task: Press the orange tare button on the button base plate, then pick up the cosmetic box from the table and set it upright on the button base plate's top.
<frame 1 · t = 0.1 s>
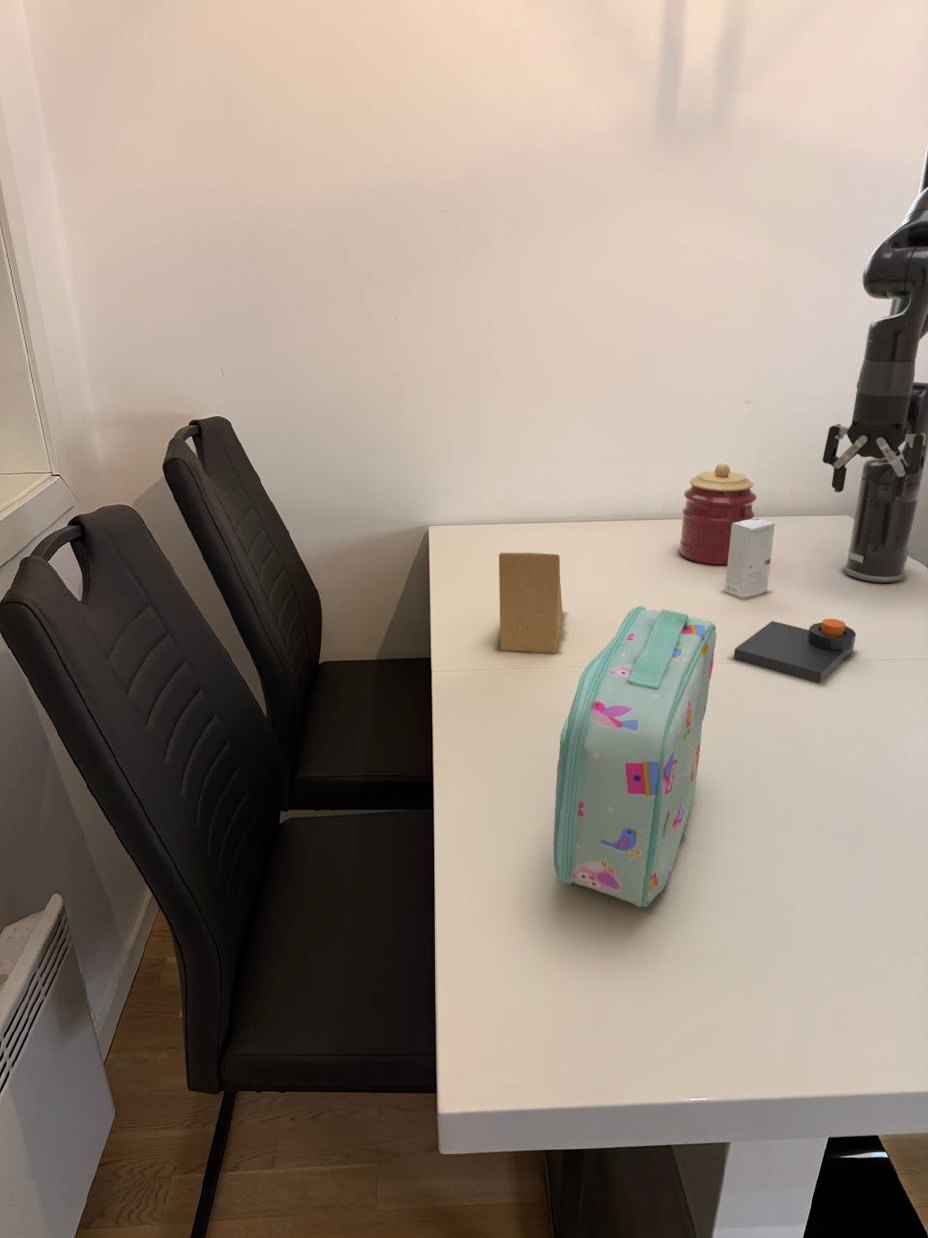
hand: (866, 495, 133), 17 cm above the table, tool pointing down, fingers open, 8 cm apart
cosmetic box: (745, 592, 142), on the table
tare button: (832, 627, 118), point 4 cm above the table, slide at 0.2 cm
button base plate: (793, 655, 119), on the table
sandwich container: (533, 632, 129), on the table
kitchen canister: (713, 555, 161), on the table
lunch box: (631, 831, 83), on the table
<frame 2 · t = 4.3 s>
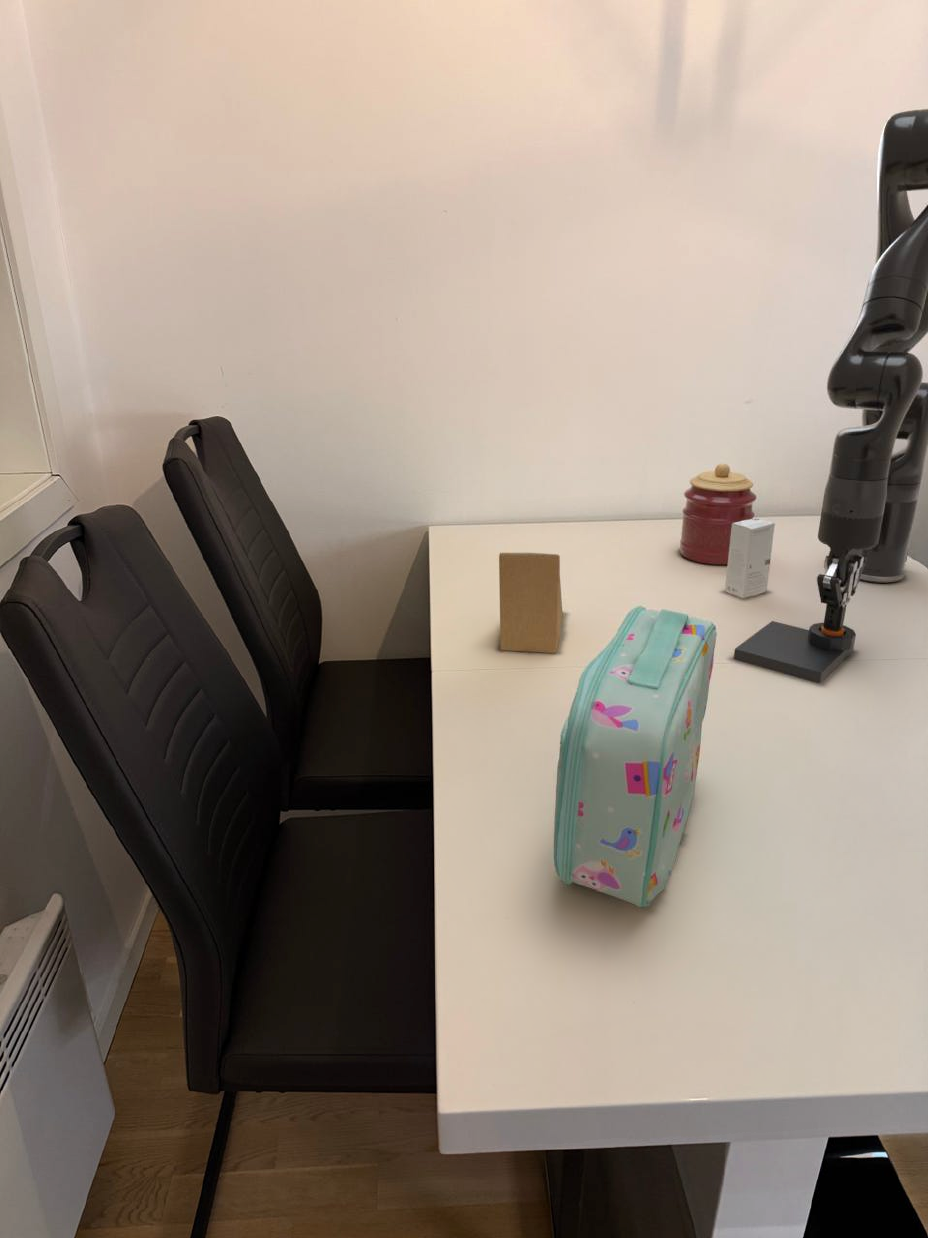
hand: (832, 628, 118), 4 cm above the table, tool pointing down, fingers closed
tare button: (832, 633, 118), point 3 cm above the table, slide at -0.7 cm, touching gripper
everything else where it was.
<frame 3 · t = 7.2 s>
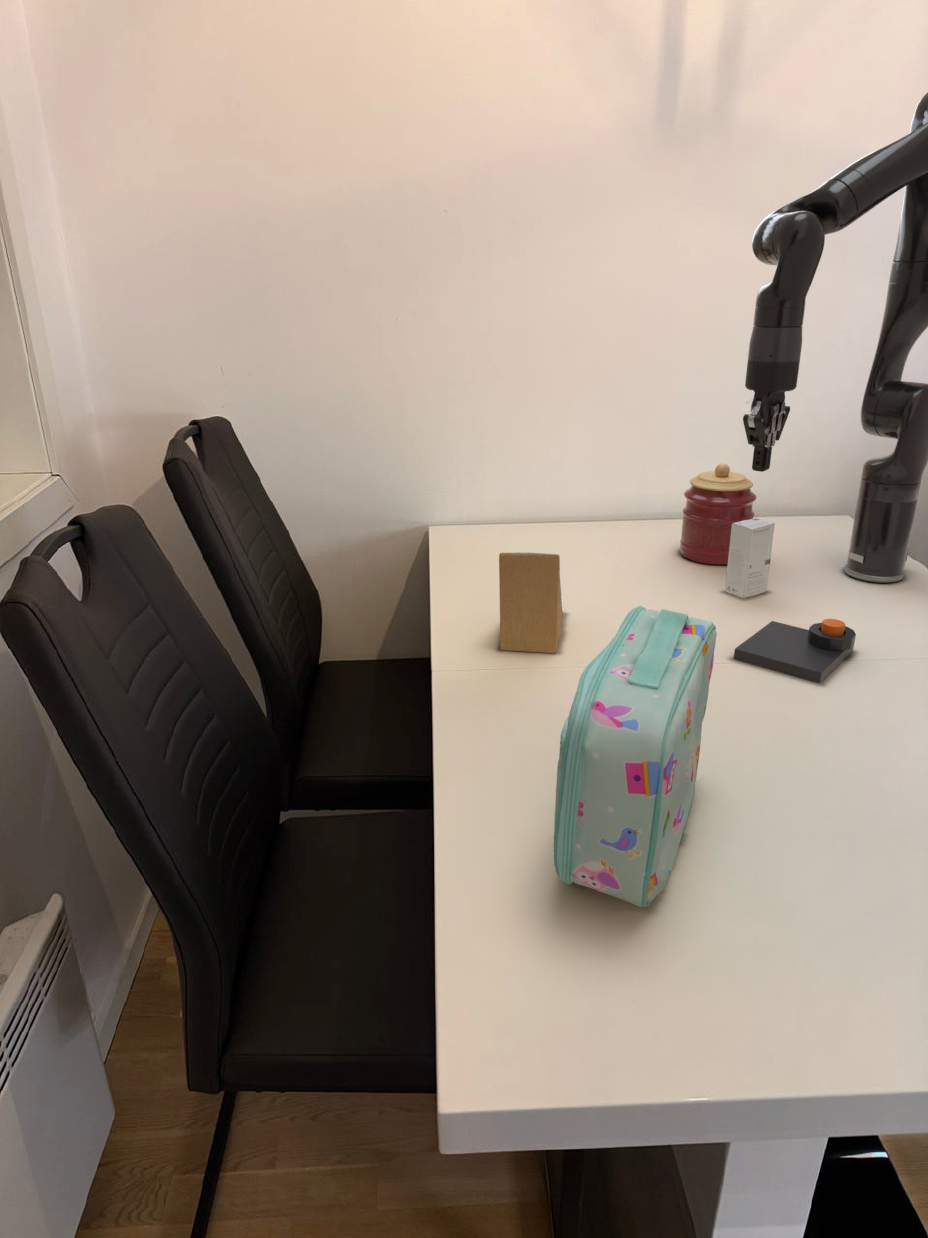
hand: (760, 469, 134), 21 cm above the table, tool pointing down, fingers closed
tare button: (832, 627, 118), point 4 cm above the table, slide at 0.2 cm
everything else where it was.
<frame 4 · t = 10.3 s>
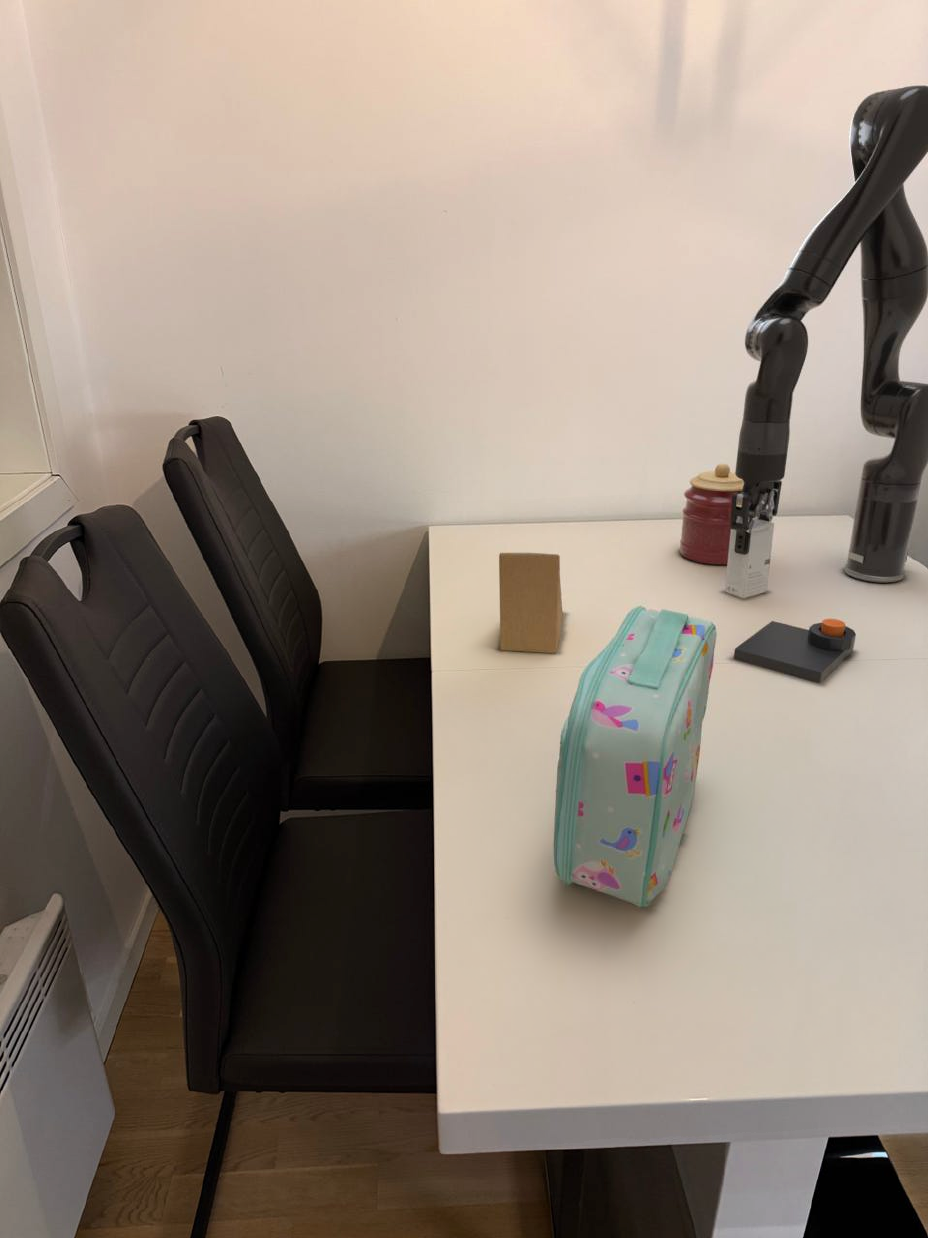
hand: (750, 547, 139), 8 cm above the table, tool pointing down, fingers closed on cosmetic box, 6 cm apart
cosmetic box: (745, 592, 142), on the table, touching gripper
everything else where it was.
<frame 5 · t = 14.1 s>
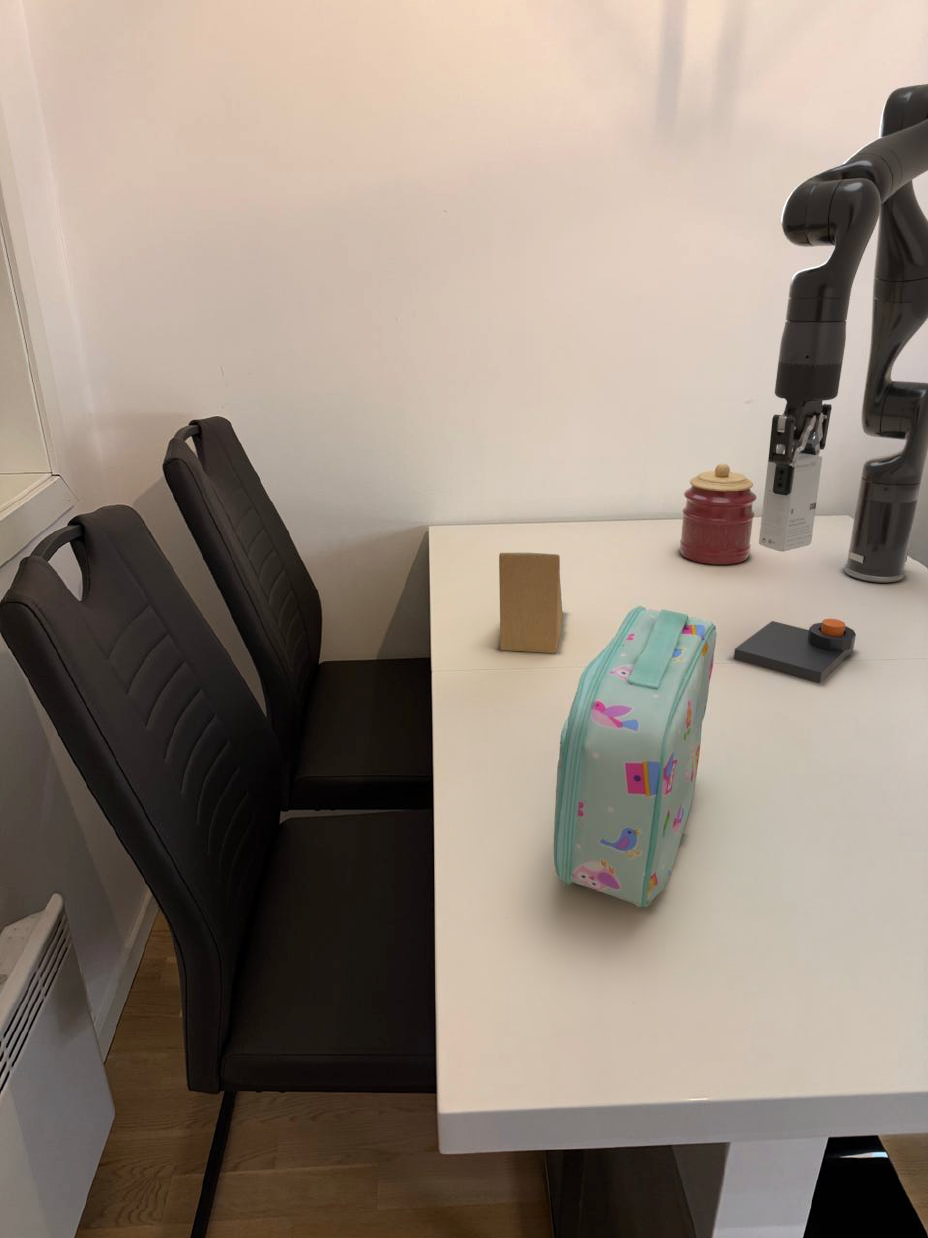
hand: (792, 488, 111), 24 cm above the table, tool pointing down, fingers closed on cosmetic box, 6 cm apart
cosmetic box: (784, 546, 114), point 16 cm above the table, touching gripper
everything else where it was.
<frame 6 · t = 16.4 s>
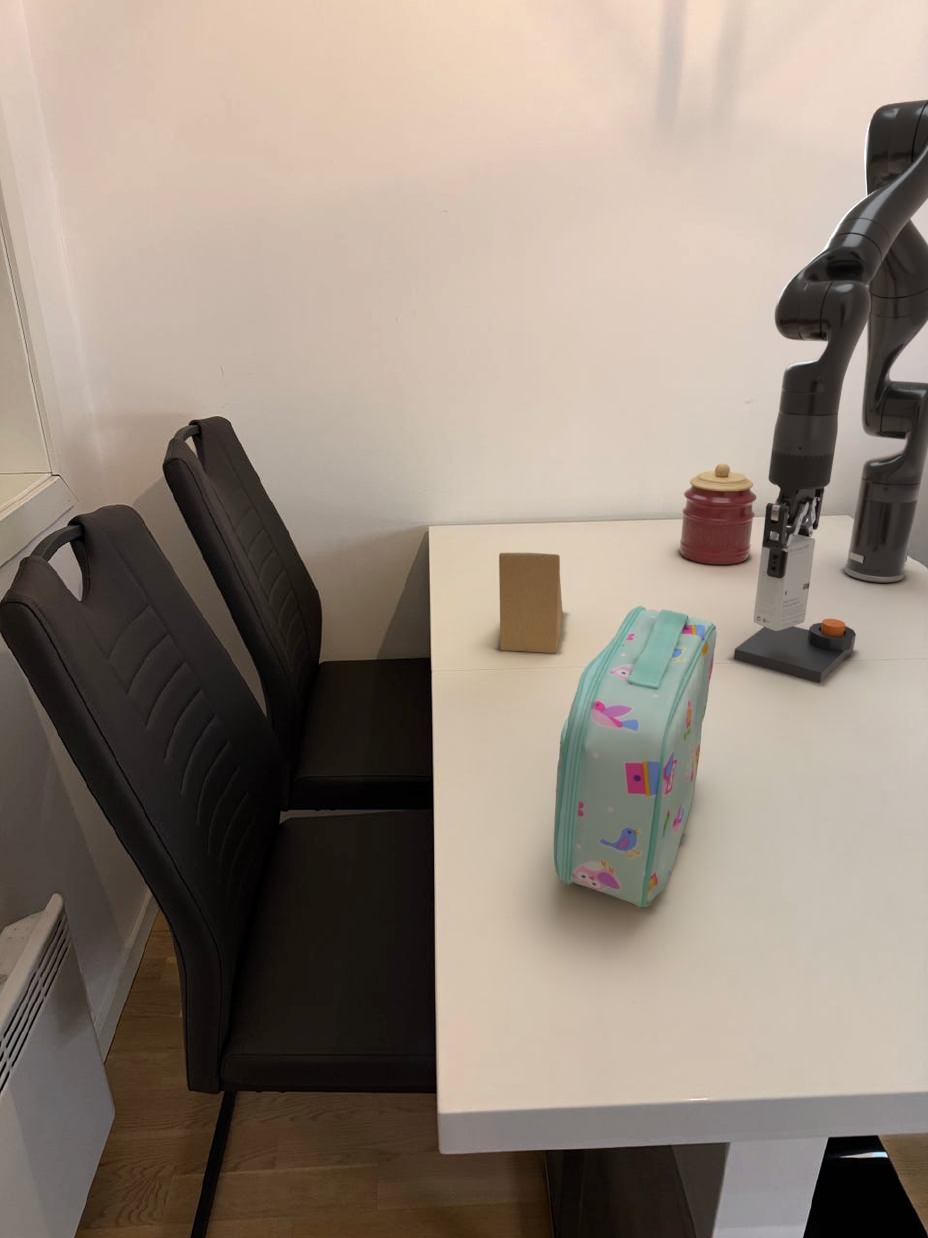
hand: (786, 569, 114), 13 cm above the table, tool pointing down, fingers closed on cosmetic box, 6 cm apart
cosmetic box: (778, 623, 117), point 5 cm above the table, touching gripper
everything else where it was.
when the fingers open (10 cm above the table, at t = 18.2 s): cosmetic box stays where it is, resting on button base plate.
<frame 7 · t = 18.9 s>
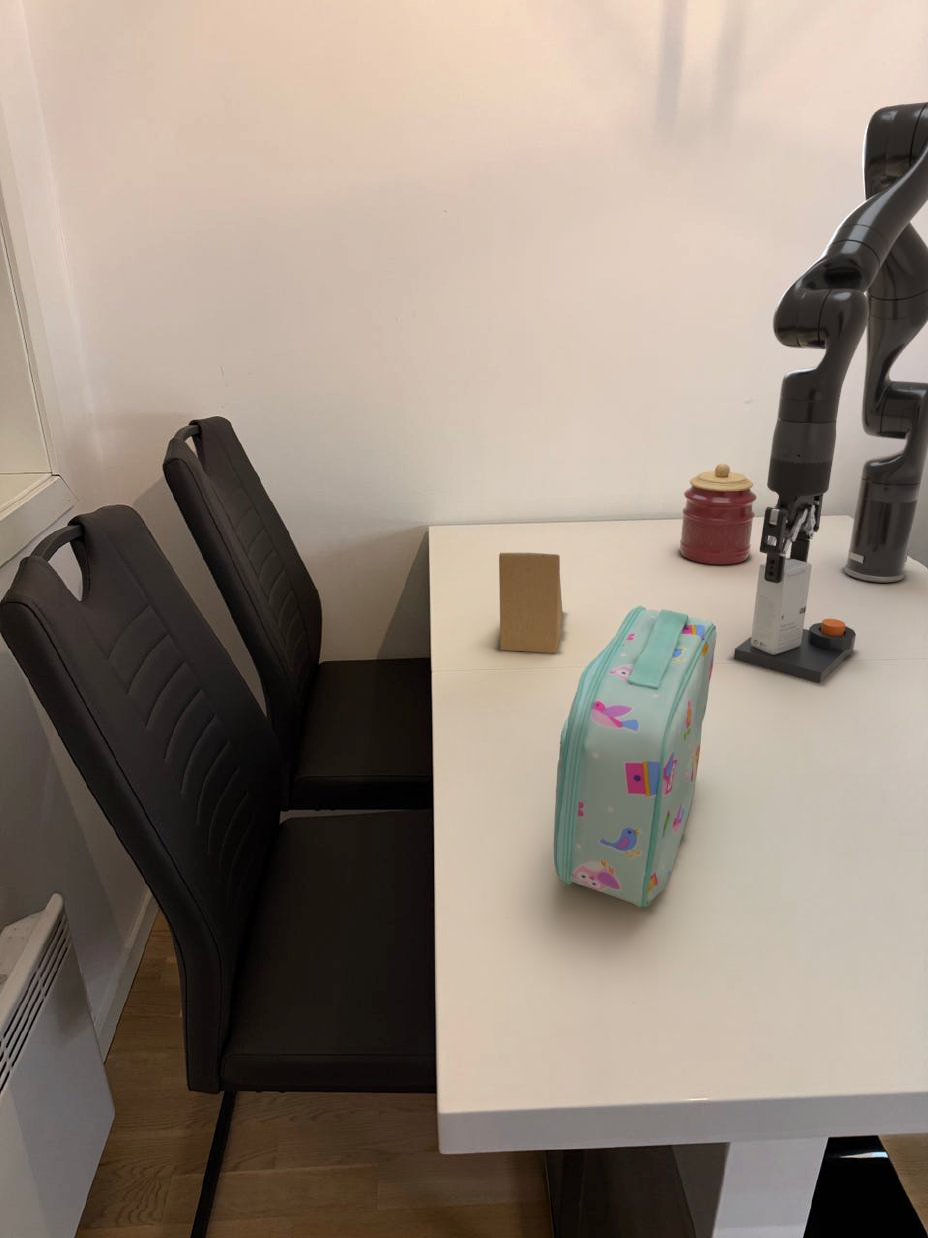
hand: (785, 573, 114), 13 cm above the table, tool pointing down, fingers open, 8 cm apart
cosmetic box: (775, 646, 118), point 2 cm above the table, touching button base plate
everything else where it was.
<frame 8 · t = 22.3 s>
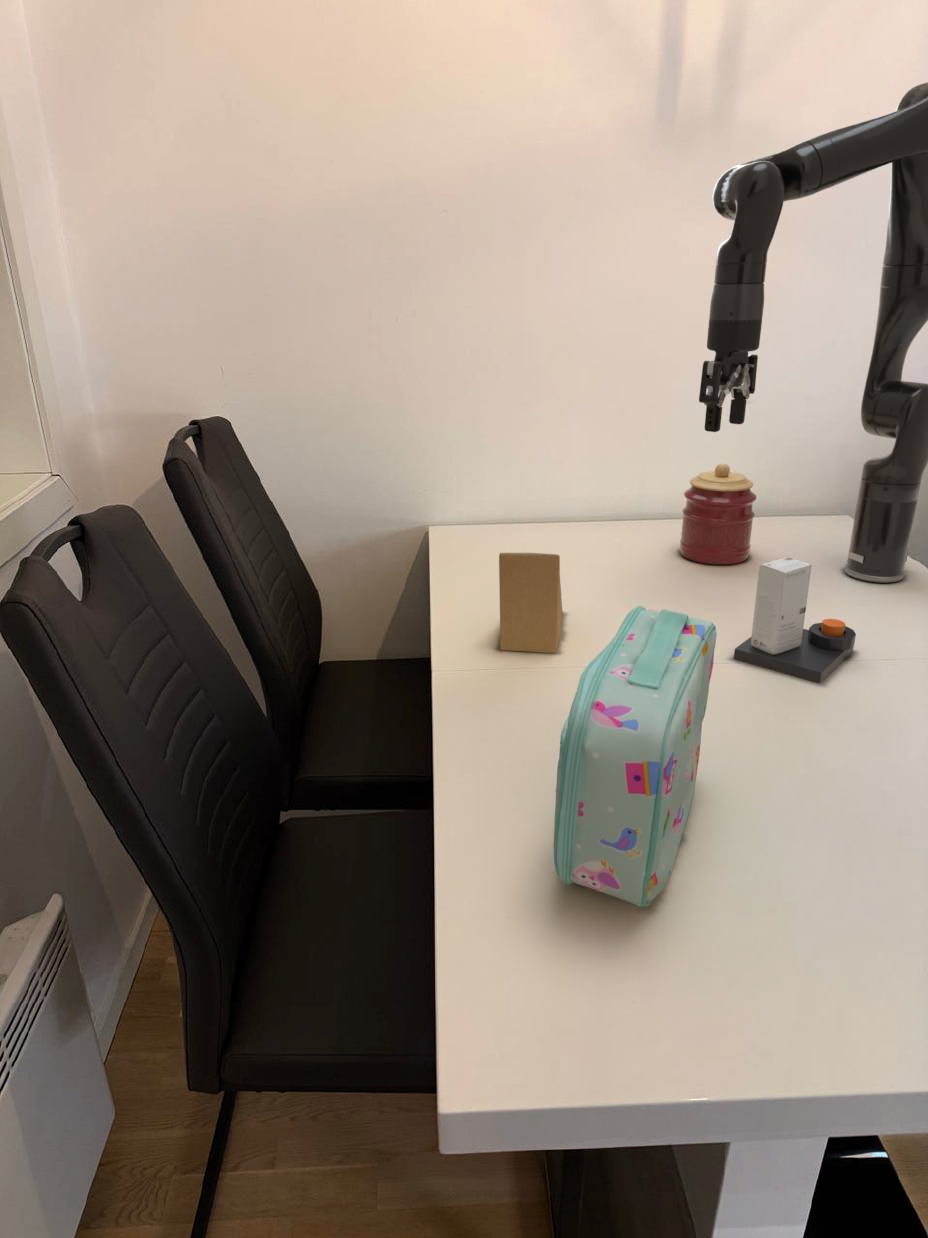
hand: (724, 427, 130), 28 cm above the table, tool pointing down, fingers open, 8 cm apart
nothing on the table moved.
at the end: tare button pushed in 1.0 cm at the most during the clip, back to 0.2 cm at the end; cosmetic box inside the target area on the button base plate (2.8 cm from its centre), point 1.5 cm above the button base plate's base; cosmetic box touching button base plate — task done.
